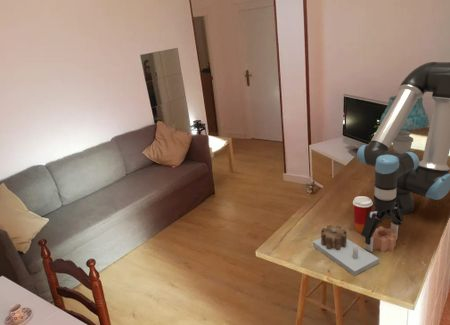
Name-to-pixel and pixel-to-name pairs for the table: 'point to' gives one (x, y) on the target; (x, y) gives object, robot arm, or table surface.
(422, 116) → the table lamp
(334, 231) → the gear
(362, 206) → the paper cup
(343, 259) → the gear board
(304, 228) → the table surface
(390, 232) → the gear
